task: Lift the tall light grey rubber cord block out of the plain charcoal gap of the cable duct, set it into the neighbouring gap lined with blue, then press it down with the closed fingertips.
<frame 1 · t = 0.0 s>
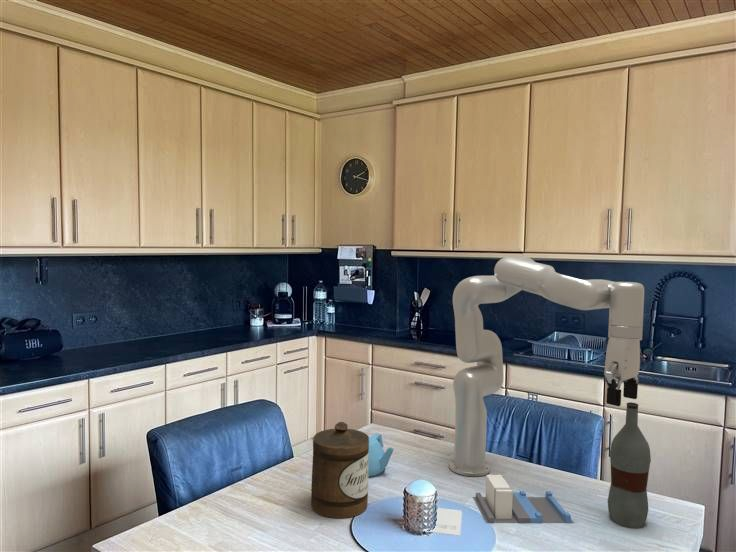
hand: (621, 401, 134), 31 cm above the table, tool pointing down, fingers open, 9 cm apart
teapot: (363, 470, 166), on the table
cord block: (498, 509, 140), point 1 cm above the table, touching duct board
external hard drive: (444, 527, 134), on the table
bottle: (626, 521, 138), on the table
wooden container: (339, 505, 142), on the table
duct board: (520, 512, 141), on the table
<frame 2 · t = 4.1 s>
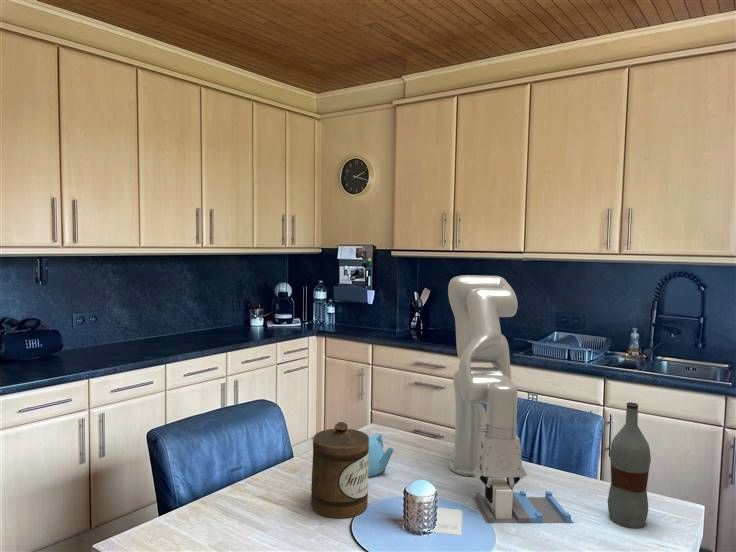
hand: (498, 499, 140), 3 cm above the table, tool pointing down, fingers closed on cord block, 4 cm apart
cord block: (498, 509, 140), point 1 cm above the table, touching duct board, gripper
everything else where it was.
when the fingers open (4 cm above the table, at t = 9.2 s): cord block stays where it is, resting on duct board.
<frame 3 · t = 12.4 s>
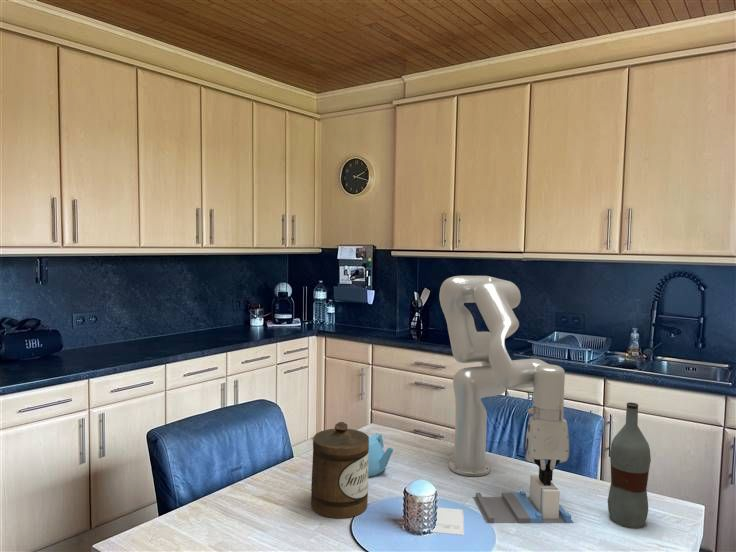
hand: (545, 483, 140), 8 cm above the table, tool pointing down, fingers closed
cord block: (543, 509, 141), point 1 cm above the table, touching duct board, gripper
everything else where it was.
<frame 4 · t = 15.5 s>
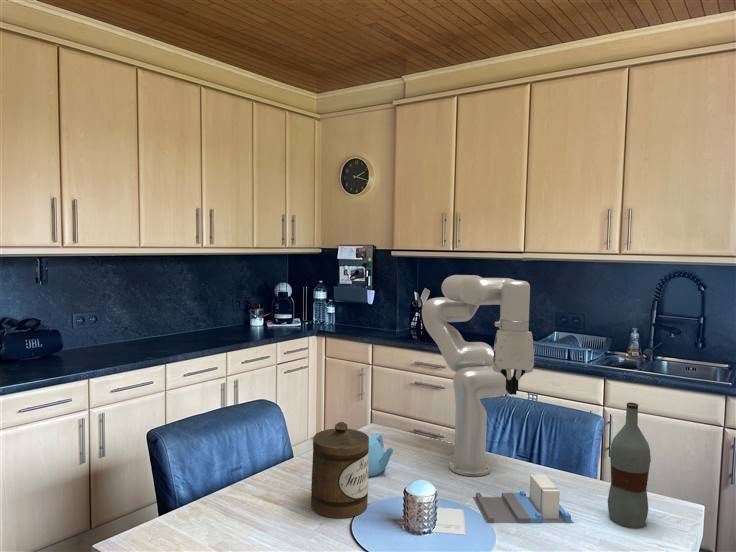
hand: (511, 393, 147), 29 cm above the table, tool pointing down, fingers closed
cord block: (543, 509, 141), point 1 cm above the table, touching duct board
everything else where it was.
at the end: cord block 0.1 cm from the target spot on the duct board, point 0.8 cm above the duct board's base; cord block tilted 0°; the gripper is holding nothing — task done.
